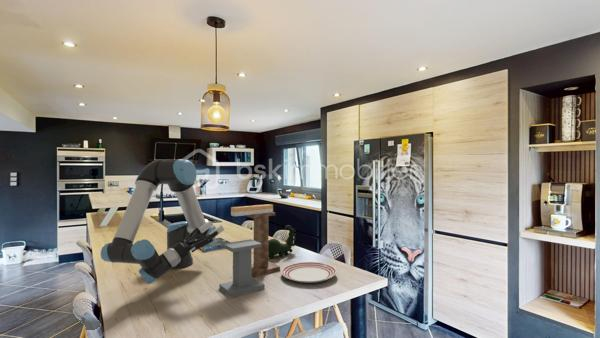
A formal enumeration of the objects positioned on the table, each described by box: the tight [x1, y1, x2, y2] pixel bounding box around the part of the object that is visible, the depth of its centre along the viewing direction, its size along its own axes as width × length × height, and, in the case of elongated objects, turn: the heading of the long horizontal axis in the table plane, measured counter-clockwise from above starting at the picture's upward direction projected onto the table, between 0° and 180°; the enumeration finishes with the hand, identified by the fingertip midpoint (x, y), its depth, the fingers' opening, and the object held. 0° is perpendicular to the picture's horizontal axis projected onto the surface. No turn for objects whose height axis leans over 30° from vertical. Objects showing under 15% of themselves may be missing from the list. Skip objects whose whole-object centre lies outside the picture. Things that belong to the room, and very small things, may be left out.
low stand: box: [219, 239, 266, 299], centre depth 136 cm, size 16×12×20 cm
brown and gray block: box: [230, 204, 274, 217], centre depth 158 cm, size 22×4×4 cm, turn 128°
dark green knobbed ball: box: [268, 224, 297, 259], centre depth 187 cm, size 9×19×25 cm
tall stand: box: [245, 211, 281, 278], centre depth 161 cm, size 16×12×30 cm
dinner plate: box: [280, 261, 338, 284], centre depth 153 cm, size 28×27×3 cm
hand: (217, 225), depth 146 cm, fingers open, 13 cm apart
